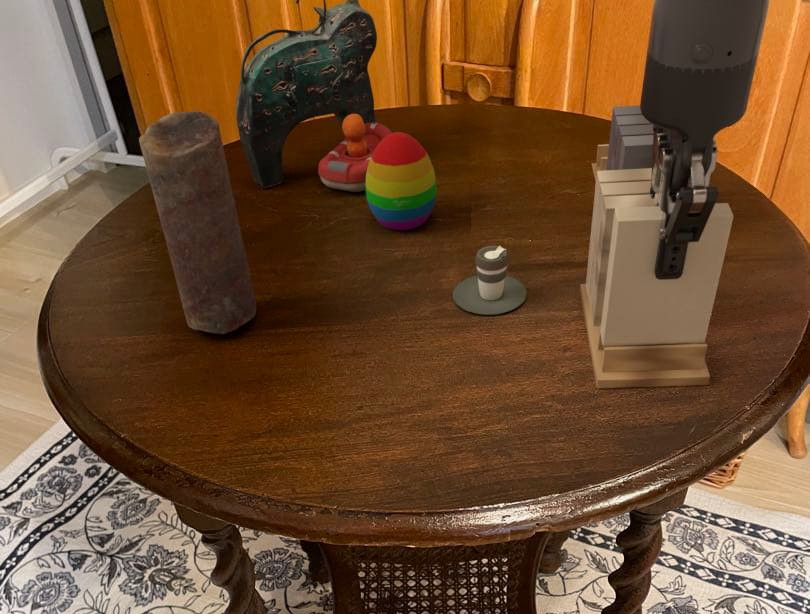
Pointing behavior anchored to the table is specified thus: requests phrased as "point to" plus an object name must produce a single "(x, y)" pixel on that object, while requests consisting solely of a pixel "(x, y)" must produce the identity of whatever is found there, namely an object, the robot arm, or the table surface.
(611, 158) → the grey rack
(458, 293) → the coffee cup
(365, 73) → the ceramic cat
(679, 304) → the cream book
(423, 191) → the decorative egg
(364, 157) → the toy boat
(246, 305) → the brown textured cylinder
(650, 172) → the cream rack
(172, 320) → the table surface
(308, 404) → the table surface
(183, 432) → the table surface
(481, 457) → the table surface
